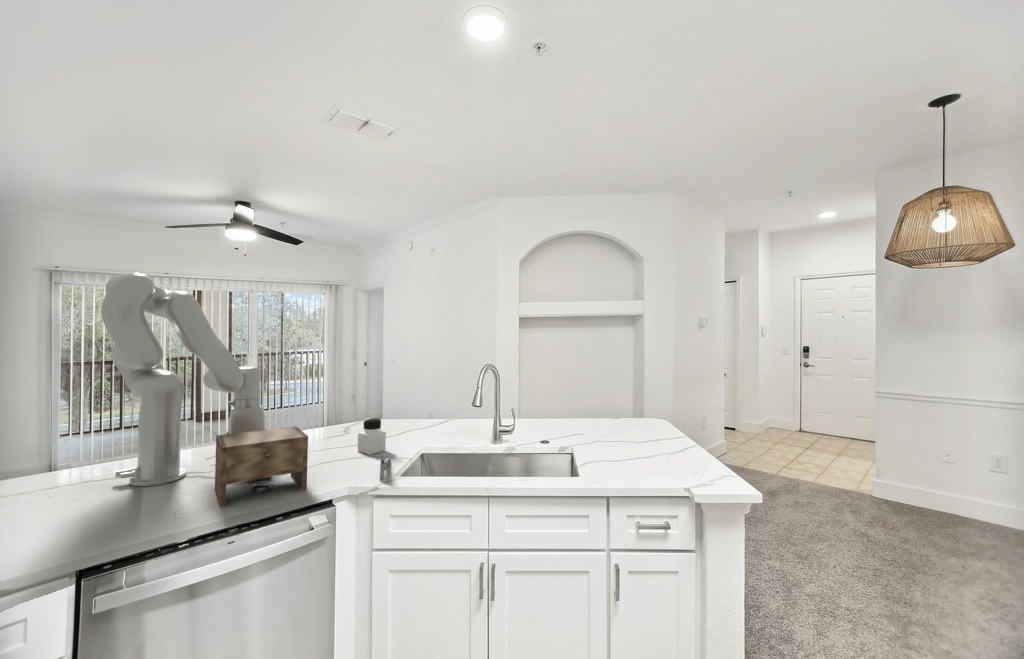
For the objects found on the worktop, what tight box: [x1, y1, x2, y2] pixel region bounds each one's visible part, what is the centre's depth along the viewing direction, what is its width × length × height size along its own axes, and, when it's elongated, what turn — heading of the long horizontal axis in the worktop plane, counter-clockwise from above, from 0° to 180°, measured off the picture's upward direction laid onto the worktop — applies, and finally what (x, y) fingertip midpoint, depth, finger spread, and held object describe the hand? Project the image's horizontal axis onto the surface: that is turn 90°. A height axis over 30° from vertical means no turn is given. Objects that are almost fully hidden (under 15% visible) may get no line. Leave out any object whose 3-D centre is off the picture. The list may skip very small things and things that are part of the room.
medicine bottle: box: [357, 417, 387, 456], centre depth 153 cm, size 7×7×12 cm
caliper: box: [379, 457, 391, 482], centre depth 134 cm, size 20×1×6 cm, turn 11°
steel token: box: [251, 480, 271, 492], centre depth 116 cm, size 4×4×1 cm
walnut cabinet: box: [214, 426, 309, 508], centre depth 114 cm, size 20×15×15 cm
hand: (246, 456), depth 140 cm, fingers closed on scraper, 2 cm apart
